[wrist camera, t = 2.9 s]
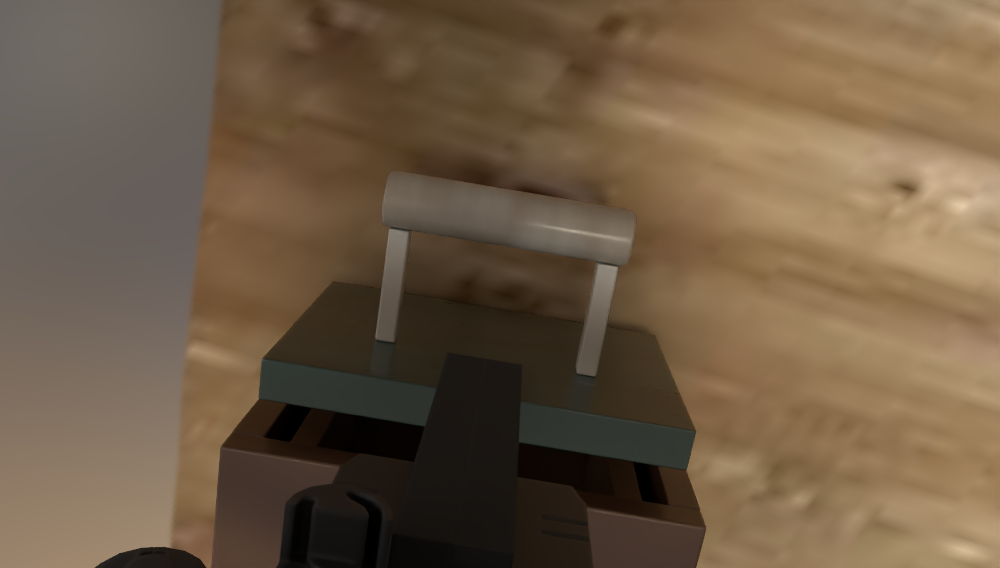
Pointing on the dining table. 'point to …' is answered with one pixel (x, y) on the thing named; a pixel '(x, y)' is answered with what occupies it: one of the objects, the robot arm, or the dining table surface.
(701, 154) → the dining table surface
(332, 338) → the drawer
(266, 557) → the cabinet
